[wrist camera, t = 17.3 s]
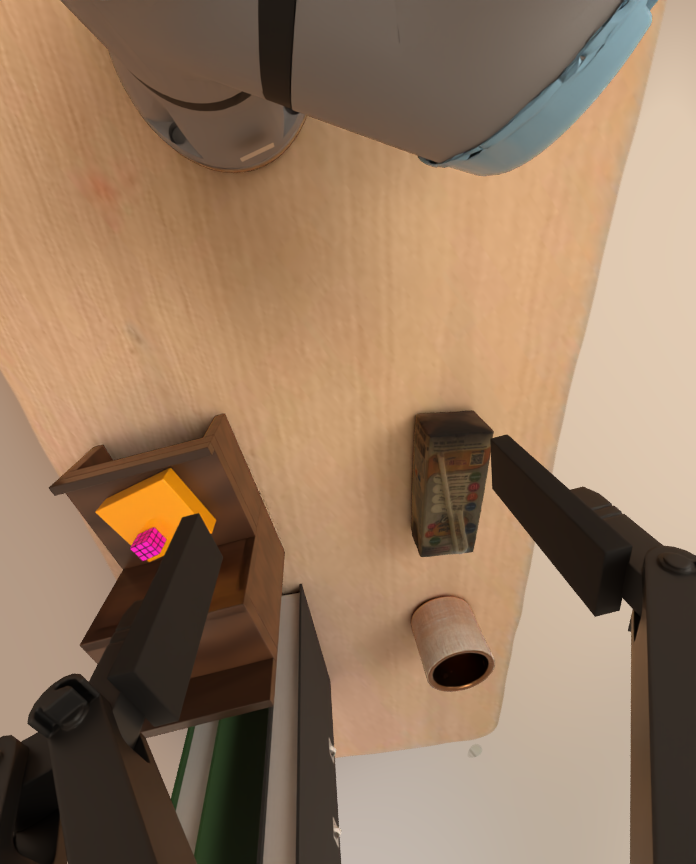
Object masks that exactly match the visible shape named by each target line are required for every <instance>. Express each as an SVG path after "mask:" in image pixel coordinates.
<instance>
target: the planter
mask: <svg viewBox="0 0 696 864" xmlns="http://www.w3.org/2000/svg"><path fill="white" fill-rule="evenodd" d="M411 627H412V631H413V634H414V638H415V641H416V644H417V647H418V651H419V654H420V657H421V661H422V664H423V667H424V671H425V674H426V678H427V681H428V683H429V684H430V685H431V686H432V687H433V688H435V689H437V690H440V691H447V692H453V691H461V690H465V689H468V688H471V687H474V686H476V685H478V684H479V683H481V682H483V681H484V680H485V679H486V678H488V677H489V676H490V674H491V673H492V671H493V670H494V667H495V660H494V657H493V655H492V653H491V651H490V649H489V647H488V644H487V642H486V640H485V638H484V636H483V634H482V631H481V629H480V627H479V625H478V622H477V620H476V618H475V616H474V613H473V611H472V609H471V607H470V606H469V604H468V603H467V602H466V601H464V600H463V599H460V598H457V597H450V596H445V597H438V598H434V599H432V600H429V601H427V602H426V603H424V604H423V605H421V606H420V607H419V608H418V609H417V610H416V611H415V613H414V614H413V616H412V619H411Z"/></svg>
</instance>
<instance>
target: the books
mask: <svg viewBox="0 0 696 864" xmlns="http://www.w3.org/2000/svg"><path fill="white" fill-rule="evenodd" d="M335 754H336V749H335V748H334V737H333V720H332V703H331V686H330V679H329V675H328V672H327V668H326V665H325V662H324V658H323V655H322V651H321V648H320V645H319V641H318V638H317V634H316V631H315V628H314V624H313V621H312V617H311V614H310V611H309V607H308V604H307V600H306V597H305V594H304V590H303V587H302V584H300V593H296V594H290V595H285V596H281V610H280V625H279V639H278V653H277V668H276V682H275V697H274V706H272V707H268V708H264V709H260V710H256V711H252V712H248V713H244V714H240V715H236V716H232V717H228V718H224V719H220V720H216V721H212V722H208V723H205V724H201V725H197V726H193V727H189V728H188V731H187V735H186V740H185V744H184V748H183V752H182V756H181V760H180V764H179V768H178V772H177V777H176V780H175V784H174V788H173V793H172V797H171V801H172V804H173V806H174V808H175V811H176V813H177V816H178V818H179V821H180V823H181V825H182V828H183V830H184V833H185V835H186V838H187V840H188V842H189V845H190V847H191V850H192V852H193V855H194V857H195V859H196V862H197V864H341V854H340V837H339V836H340V834H341V830H340V829H339V821H338V804H337V787H336V772H335Z"/></svg>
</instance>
